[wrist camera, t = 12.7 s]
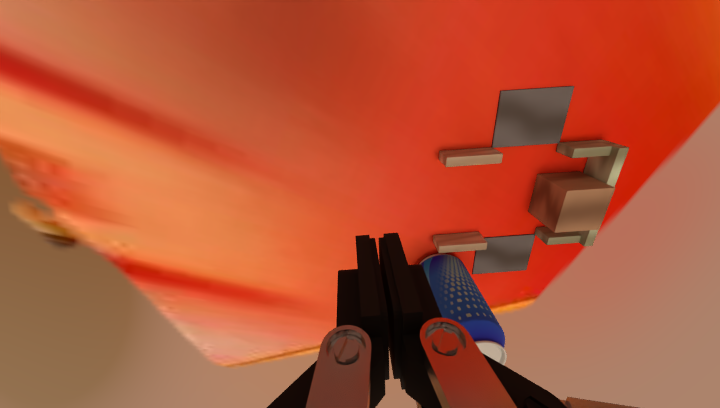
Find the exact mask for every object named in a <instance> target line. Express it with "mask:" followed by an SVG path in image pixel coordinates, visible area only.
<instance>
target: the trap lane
mask: <svg viewBox="0 0 720 408" xmlns="http://www.w3.org/2000/svg"><path fill="white" fill-rule="evenodd" d="M573 89H574V86H568V87H552V88H537V89H522V90H507V91H500V97H499V103H498V110H497V116H496V123H495V129H494V136H493V142H492V147H489V148H475V149H460V150H446V151H439V160H440V161H441V162H442V163H443V164H444V165H445V166H446V167H453V166H467V165H482V164H496V163H501V162H502V157H503V153H501V152H499V151H497V150H496V149H494V148H496V147H510V146H524V145H539V144H553V143H558V146H557V150H556V152H559V153H561V154H563V155H566V156H568V157H570V158H580V157H588V159H587V163H586V166H585V169H584V172H583V173H584V174H586V175H589V176H591V177H593V178H595V179H597V180H599V181H602V182H604V183H606V184H608V185H610V186H613V187H615V184H616V181H617V179H618V176H619V173H620V171H621V168H622V165H623V163H624V160H625V157H626V155H627V152H628V149H629V147H626V146H622V145H619V144H615V143H612V142H609V141H605V140H590V141H575V142H561V143H559V142H560V139H561V135H562V131H563V127H564V123H565V119H566V116H567V112H568V108H569V104H570V100H571V96H572V93H573ZM597 232H598V230H587V231H572V232H558V233H554V232H553V231H552V230H550V229H549V228H548V227H536V231H535V234H526V235H513V236H500V237H487V238H483V236H482V235H481V234H480V233H479V232H467V233H454V234H441V235H433V242H434V244H435V246H436V248H437V251H438V253H448V252H461V251H474V250H476V252H475V259H474V265H473V272H472V274H482V273H494V272H507V271H520V270H526V269H527V265H528V261H529V257H530V253H531V249H532V246H533V242H534V238H535V235H536V236H538V237H539V238H540V239H541V240H542V241H543V242H544V243H545V244H546V245H552V244H565V243H578V242H579V243H580V244H582V245H583V246H592V245H593V243H594V240H595V237H596V235H597Z"/></svg>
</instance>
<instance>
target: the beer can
mask: <svg viewBox="0 0 720 408" xmlns="http://www.w3.org/2000/svg"><path fill="white" fill-rule="evenodd" d="M420 264H421V265H422V266H423V269H424V271H425V274H426V276H427V279H428V282H429V284H430V287H431V289H432V292H433V295H434V297H435V300H436V302H437V305H438V307H439V310H440V313H441V315H442V318H448V319H451V320H454V321H456V322H458V323H459V324H461V325H462V326H463V327H464V328H465V329H466V330H467V331H468V332H469V334H470V335H471V337H472V339H473V340H474V342H475V343H476V345H477V346H478V348H479V349H480V351H481V352H482V353H483V354H485V355H487V356H488V357H490V358H492V359H494V360H495V361H497V362H499V363H500V364H502V365H504V364H505V361H506V357H507V354H506V351H505V349H504V344H505V336H504V332H503V330H502V328H501V326H500V325H499V323H498V322H497V320H496V318H495V316H494V315H493V313H492V311H491V310H490V308H489V306H488V304H487V303H486V301H485V299H484V298H483V296H482V294H481V293H480V291H479V289H478V288H477V286H476V284H475V283H474V281H473V279H472V278H471V276H470V274H469V272H468V271H467V269H466V267H465V266H464V264H463V263H462V261H461V260H460V259H458V258H457V257H455V256H452V255H447V254H433V255H430V256H428V257H426V258H425V259H423V260H422V261H421V262H420Z"/></svg>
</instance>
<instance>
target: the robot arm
mask: <svg viewBox="0 0 720 408" xmlns="http://www.w3.org/2000/svg"><path fill="white" fill-rule="evenodd" d="M356 249H357V264H358V269H352V270H339V271H338V293H337V328H334V329H333V330H331V331H330V332H329V333H328V334H327V335H326V336H325V337H324V339H323V341H322V344H321V347H320V351H319V355H318V360H317V361H316V362H315V363H314V364H313V365H311V367H310V368H308V369H307V370H306V371H305V372H304V373H303V374H302V375H301V376H300V377H299V378H298V379H297V380H296V381H294V382H293V383H292V384H291V385H290V386H289V387H288V388H287V389H286V390H285V391H284V392H283V393H282V394H281V395H280V396H279V397H278V398H276V399H275V400H274V401H273V402H272V403H271V404H270V405H269V406H268V407H267V408H375V407H376V406H377V405H378V403H379V402H380V401H381V399H382V398H383V396H384V395H385V380H388V379H389V351H390V357H391V364H392V370H393V376H394V379H400V382H401V387H402V389H405V391H406V393H407V394H408V395H409V396H411V397H412V398H413V399H414V400H416V404H417V408H638V407H631V406H625V405H618V404H611V403H605V402H598V401H591V400H585V399H578V398H572V397H567V399H566V401H565V400H559V399H558V398H557V397H555V396H554V395H553V394H551V393H550V392H548V391H547V390H545V389H543V388H542V387H540V386H538V385H536V384H535V383H533V382H531V381H530V380H528V379H526V378H524V377H523V376H521V375H519V374H518V373H516V372H514V371H512V370H511V369H509V368H507V367H506V366H504V365H502V364H500V363H499V362H497V361H495V360H494V359H492V358H490V357H488V356H487V355H485V354H483V353H482V352H481V351H480V349H479V348H478V346H477V345H476V343H475V342H474V340H473V339H472V337H471V335H470V334H469V332H468V331H467V330H466V329H465V328H464V327H463V326H462V325H461V324H459V323H458V322H456V321H454V320H451V319H448V318H442V315H441V313H440V310H439V307H438V305H437V302H436V300H435V297H434V295H433V292H432V289H431V287H430V284H429V282H428V279H427V276H426V274H425V271H424V269H423V266H422V265H421V264H417V265H408V263H407V260H406V257H405V254H404V251H403V247H402V244H401V241H400V238H399V235H398V233H388V234H384V237H383V238H379V259H378V254H377V248H376V242H375V238H370V237H369V235H361V236H356ZM379 263H380V265H379Z"/></svg>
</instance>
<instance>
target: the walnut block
mask: <svg viewBox="0 0 720 408" xmlns="http://www.w3.org/2000/svg"><path fill="white" fill-rule="evenodd" d="M614 190H615V187H613V186H610V185H608V184H606V183H604V182H602V181H599V180H597V179H595V178H593V177H591V176H589V175H586V174H584V173H582V172H580V171H576V172H560V173H544V174H537V178H536V182H535V186H534V190H533V194H532V198H531V202H530V206H529V210H528V212H529V213H531V214H532V215H533V216H534V217H535V218H537V219H538V220H539V221H540V222H542V223H543V224H544V225H545V226H547V227H548V228H549V229H550V230H552V231H553V232H554V233H558V232H572V231H587V230H599V229H600V226H601V224H602V221H603V218H604V216H605V213H606V211H607V208H608V205H609V203H610V200H611V198H612V195H613V192H614Z"/></svg>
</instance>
